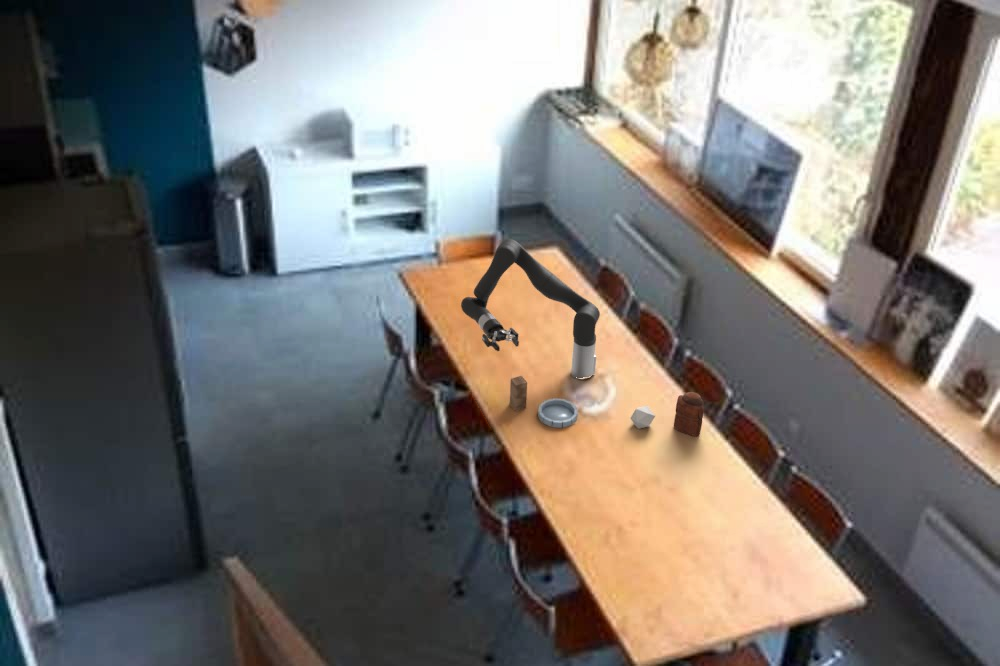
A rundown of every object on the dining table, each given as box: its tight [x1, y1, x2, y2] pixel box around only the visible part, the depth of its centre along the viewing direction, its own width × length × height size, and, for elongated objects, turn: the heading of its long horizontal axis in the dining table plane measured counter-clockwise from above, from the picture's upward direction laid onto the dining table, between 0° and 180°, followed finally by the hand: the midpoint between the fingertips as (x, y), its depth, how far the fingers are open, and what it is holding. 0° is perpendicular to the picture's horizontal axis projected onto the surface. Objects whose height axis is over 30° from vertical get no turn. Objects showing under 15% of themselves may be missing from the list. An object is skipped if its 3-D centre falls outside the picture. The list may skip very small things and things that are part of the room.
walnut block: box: [509, 375, 528, 412], centre depth 420 cm, size 5×5×13 cm
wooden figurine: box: [673, 391, 705, 437], centre depth 409 cm, size 12×6×18 cm, turn 61°
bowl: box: [537, 397, 578, 429], centre depth 419 cm, size 16×16×3 cm
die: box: [629, 405, 656, 430], centre depth 413 cm, size 8×9×10 cm
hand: (508, 347), depth 419 cm, fingers open, 8 cm apart
